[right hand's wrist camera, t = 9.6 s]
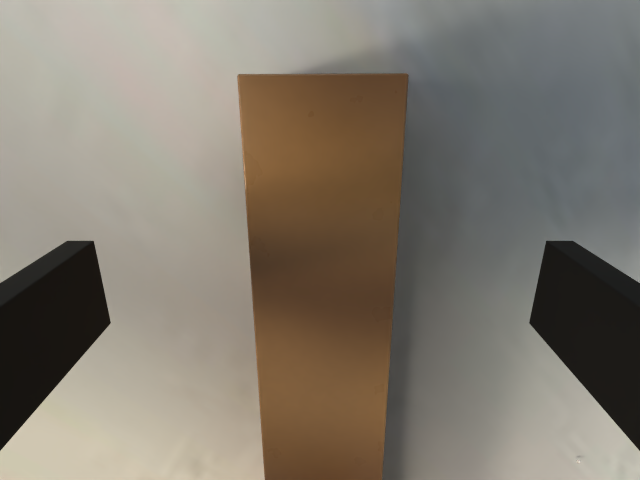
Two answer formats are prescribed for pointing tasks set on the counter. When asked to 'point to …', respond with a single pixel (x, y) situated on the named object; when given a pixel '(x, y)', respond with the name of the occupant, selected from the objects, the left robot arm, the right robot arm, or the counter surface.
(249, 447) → the counter surface
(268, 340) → the bar
